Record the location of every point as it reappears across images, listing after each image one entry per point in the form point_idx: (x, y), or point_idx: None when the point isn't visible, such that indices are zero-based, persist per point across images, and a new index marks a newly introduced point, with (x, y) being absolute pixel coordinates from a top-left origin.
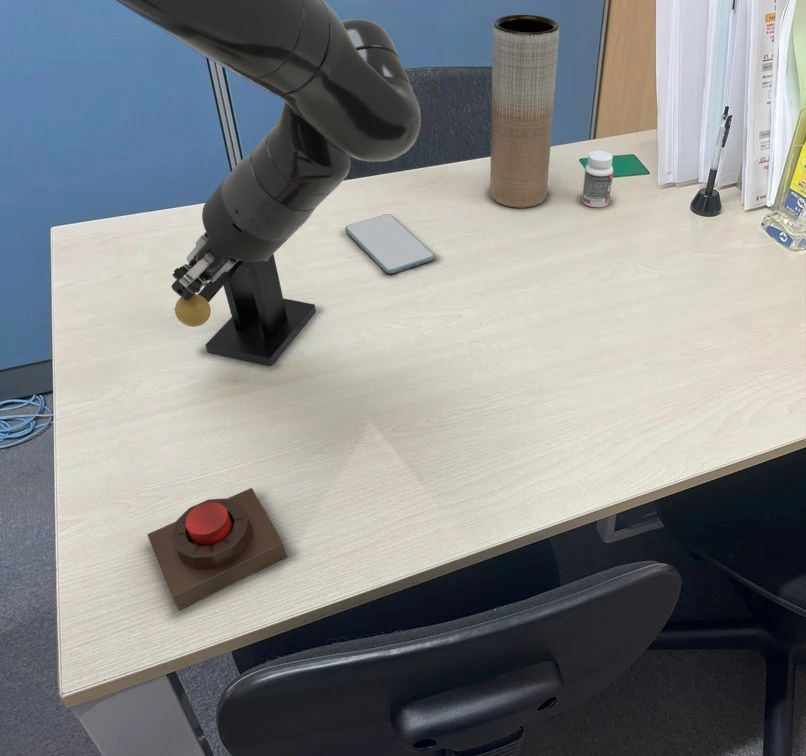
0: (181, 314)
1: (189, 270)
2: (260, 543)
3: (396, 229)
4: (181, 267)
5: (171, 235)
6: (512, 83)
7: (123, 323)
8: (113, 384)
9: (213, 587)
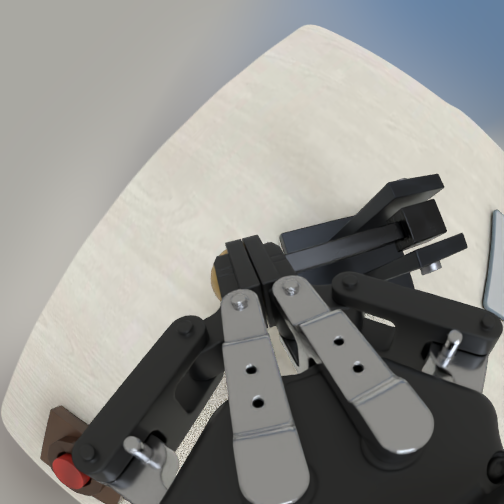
0: (212, 282)
1: (117, 490)
2: (102, 495)
3: None
4: (96, 474)
5: (377, 75)
6: None
7: (259, 123)
8: (178, 193)
9: None
